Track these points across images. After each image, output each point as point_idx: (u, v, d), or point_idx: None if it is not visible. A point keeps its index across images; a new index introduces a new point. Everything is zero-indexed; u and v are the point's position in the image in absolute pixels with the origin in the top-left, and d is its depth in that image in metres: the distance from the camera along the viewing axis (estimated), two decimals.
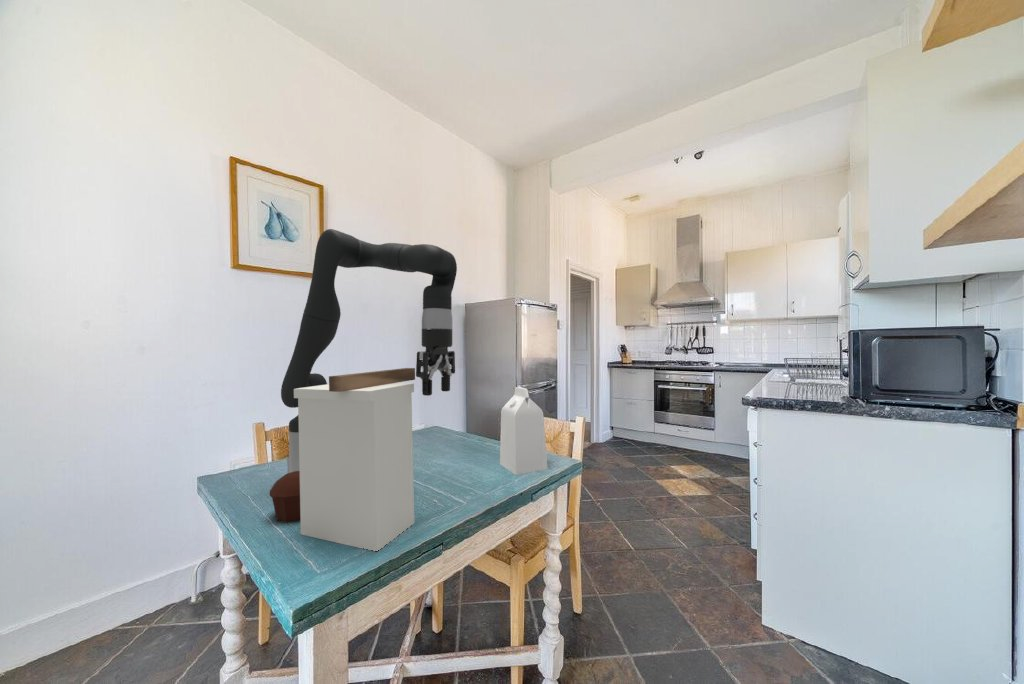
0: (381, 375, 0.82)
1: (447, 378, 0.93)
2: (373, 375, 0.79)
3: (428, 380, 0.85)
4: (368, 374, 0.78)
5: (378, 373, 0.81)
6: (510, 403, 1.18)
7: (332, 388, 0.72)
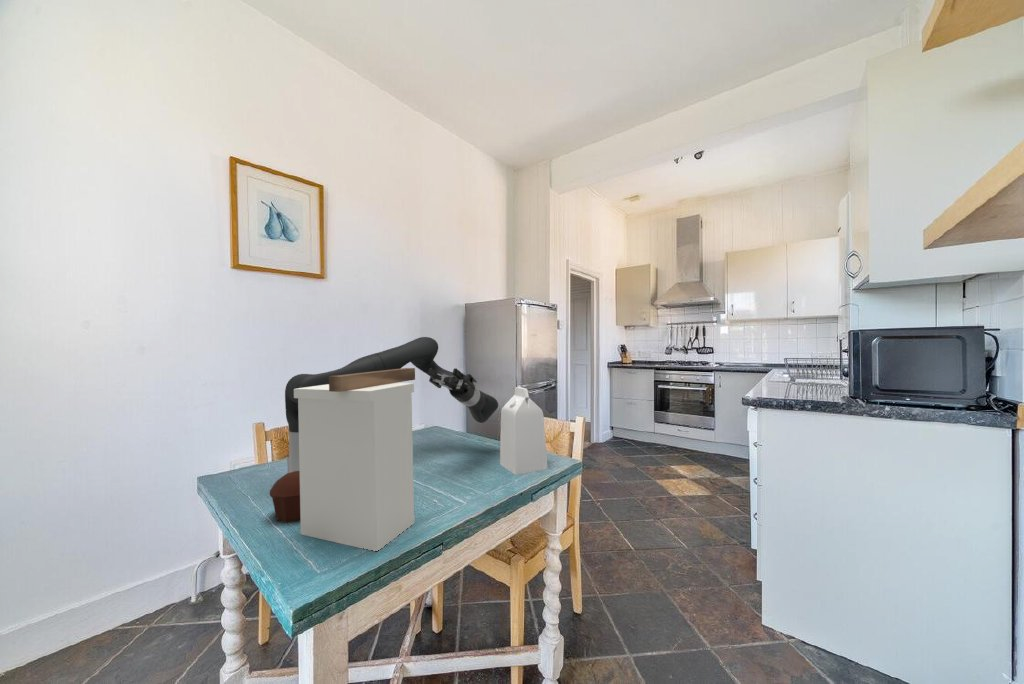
0: (381, 375, 0.82)
1: (435, 377, 1.12)
2: (373, 375, 0.79)
3: (460, 378, 1.09)
4: (368, 374, 0.78)
5: (378, 373, 0.81)
6: (510, 403, 1.18)
7: (332, 388, 0.72)
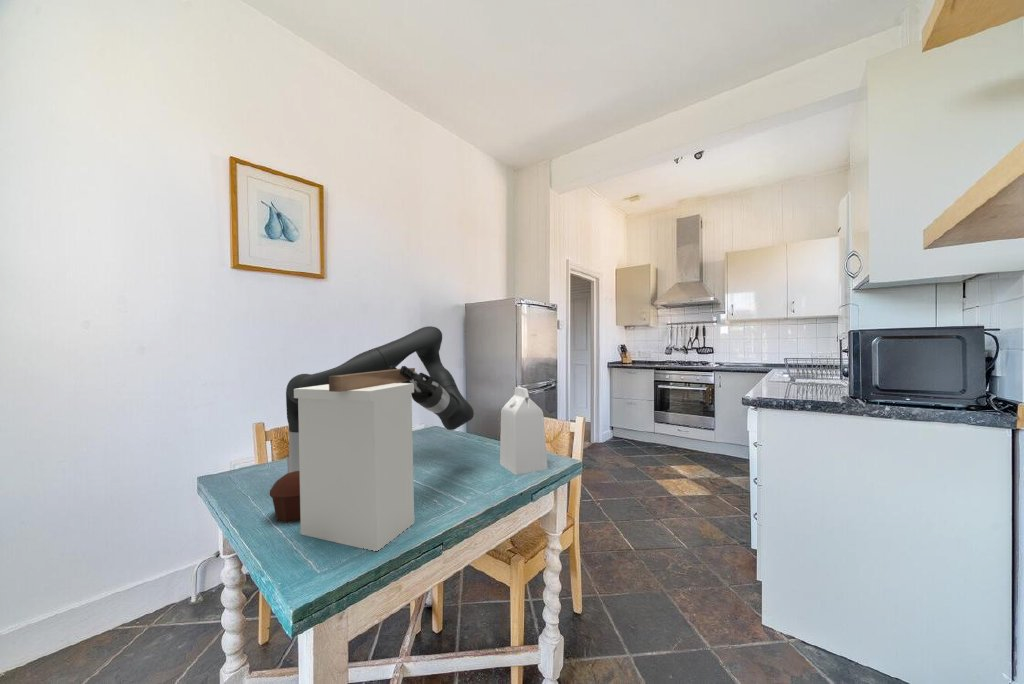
0: (381, 375, 0.82)
1: None
2: (373, 375, 0.79)
3: (411, 378, 0.90)
4: (368, 374, 0.78)
5: (378, 373, 0.81)
6: (510, 403, 1.18)
7: (332, 388, 0.72)
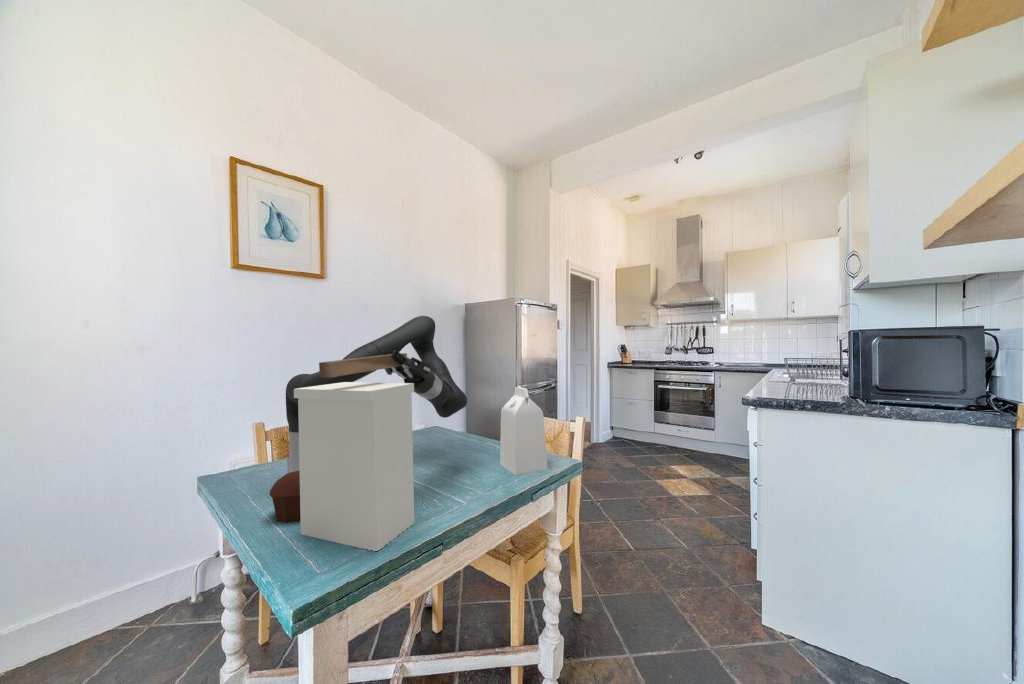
0: (372, 360, 0.82)
1: None
2: (364, 361, 0.80)
3: (402, 362, 0.91)
4: (359, 360, 0.79)
5: (369, 359, 0.82)
6: (510, 403, 1.18)
7: (323, 374, 0.73)
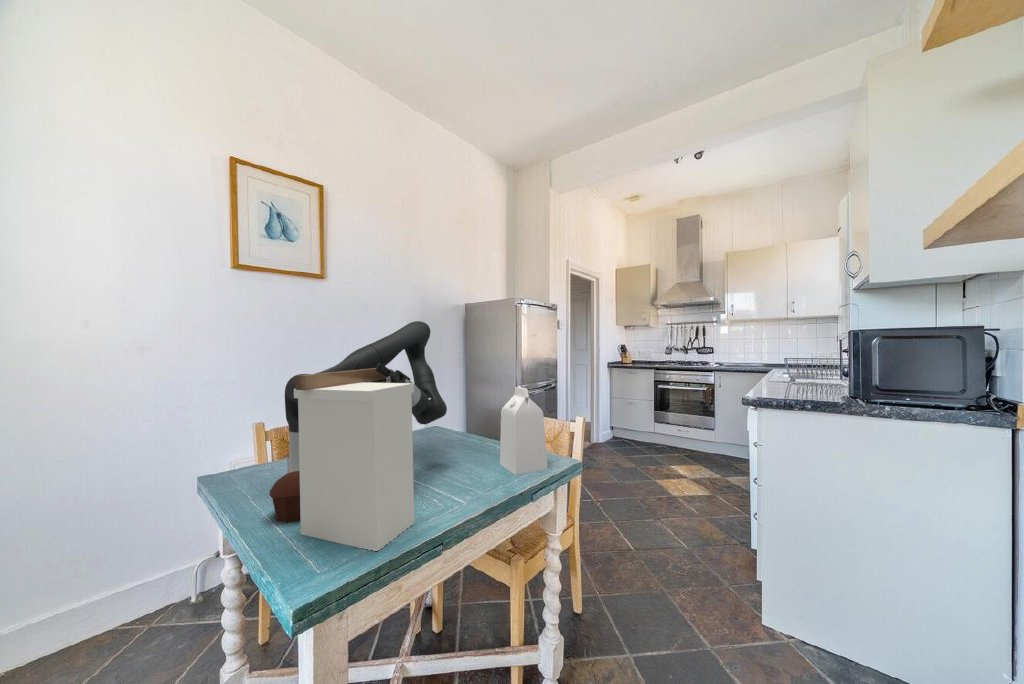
0: (349, 374, 0.86)
1: None
2: (340, 375, 0.84)
3: (387, 375, 0.94)
4: (335, 374, 0.82)
5: (346, 373, 0.85)
6: (510, 403, 1.18)
7: (298, 387, 0.76)
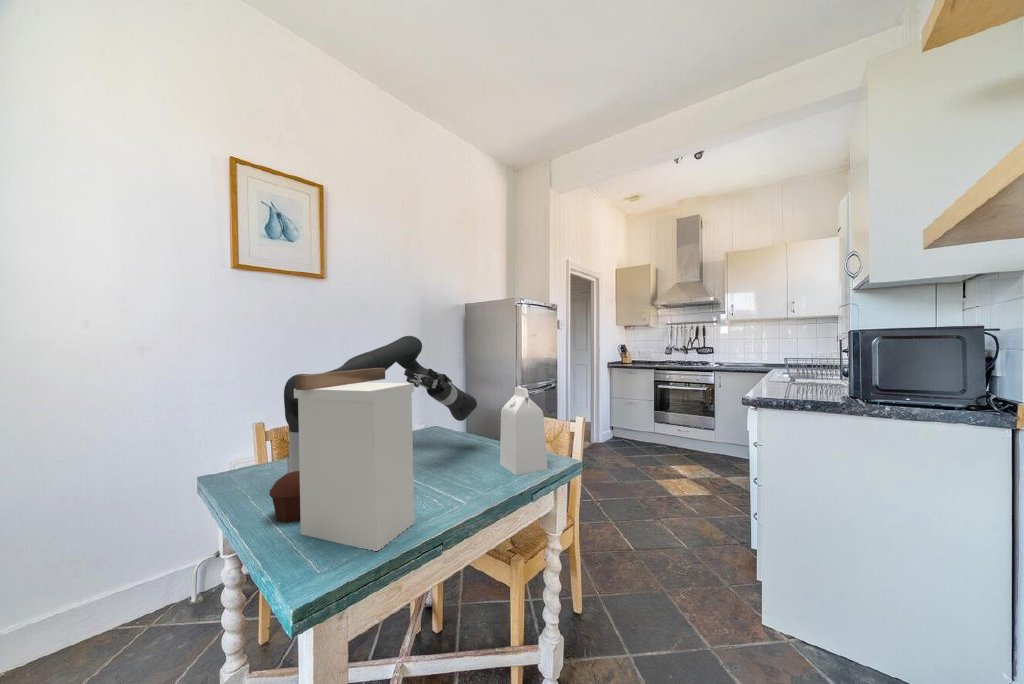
0: (349, 374, 0.86)
1: (412, 377, 1.16)
2: (340, 375, 0.84)
3: (435, 378, 1.13)
4: (335, 374, 0.82)
5: (346, 373, 0.85)
6: (510, 403, 1.18)
7: (298, 387, 0.76)
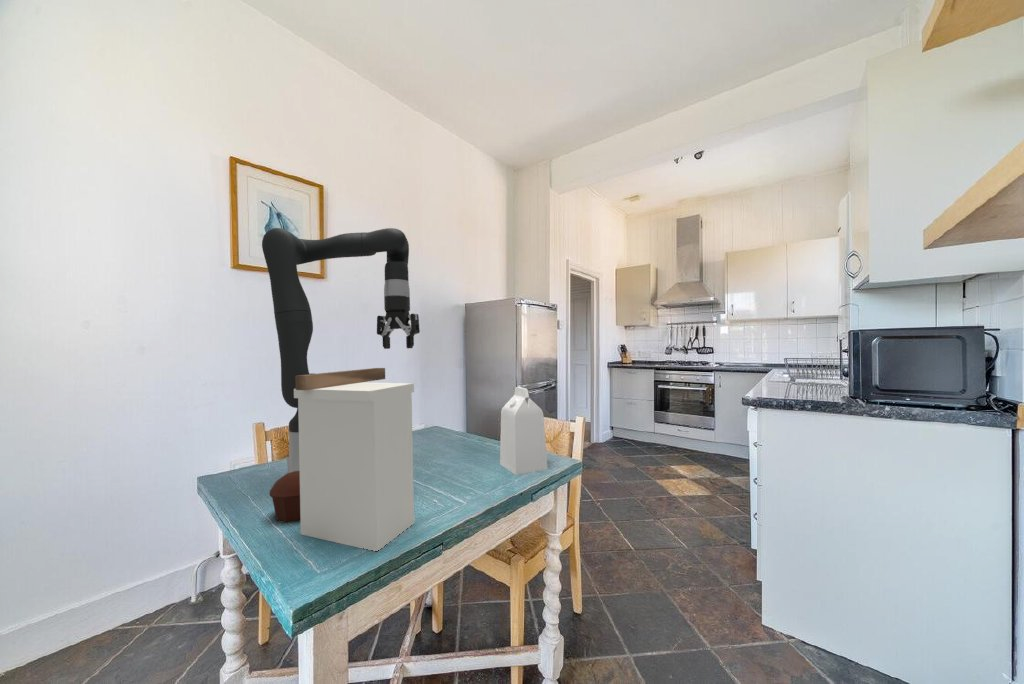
0: (349, 374, 0.86)
1: (389, 338, 1.13)
2: (340, 375, 0.84)
3: None
4: (335, 374, 0.82)
5: (346, 373, 0.85)
6: (510, 403, 1.18)
7: (298, 387, 0.76)
